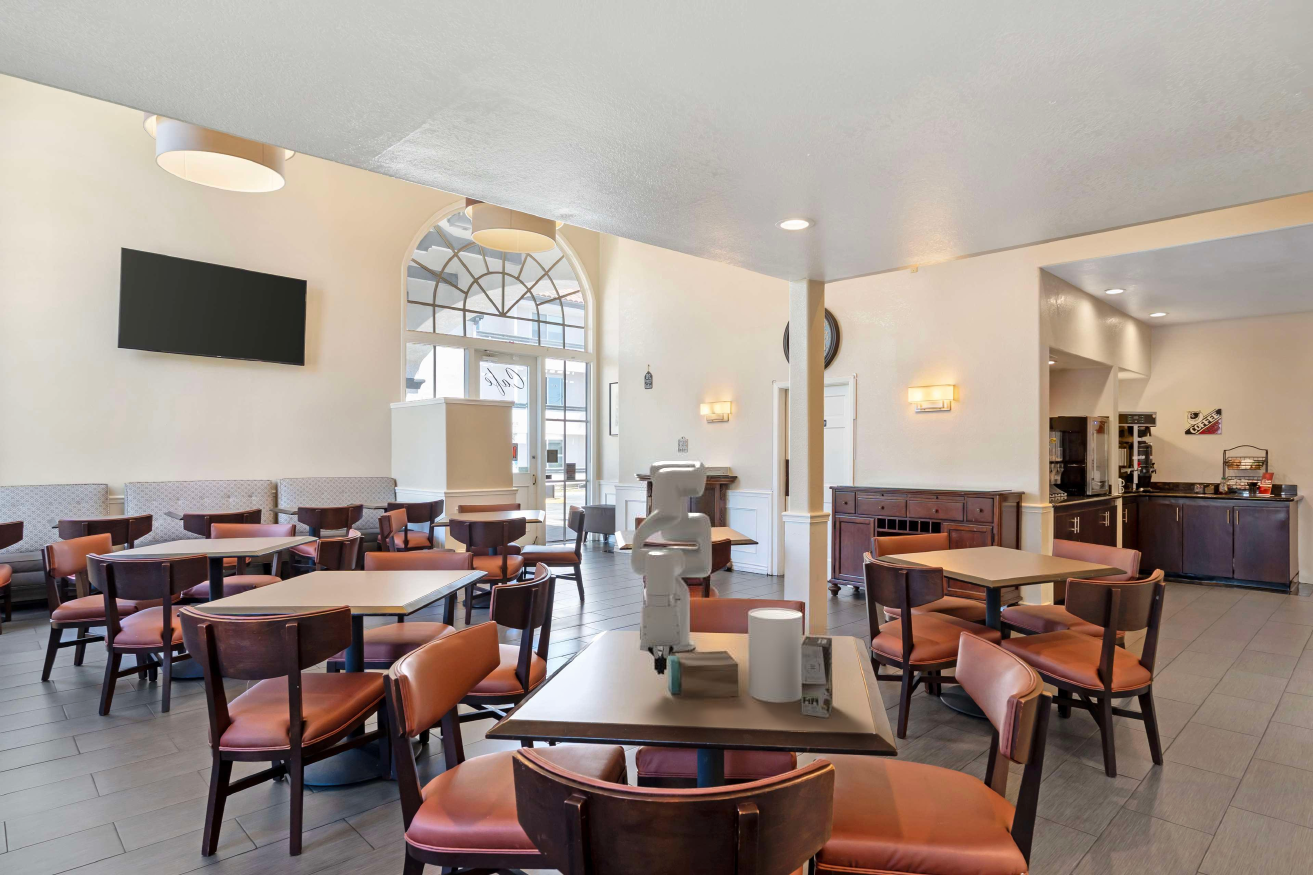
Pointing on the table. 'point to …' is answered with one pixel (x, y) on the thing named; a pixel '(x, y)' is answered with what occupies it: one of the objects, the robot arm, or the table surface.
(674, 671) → the peg
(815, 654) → the coffee box
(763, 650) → the canister
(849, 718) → the table surface
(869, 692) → the table surface
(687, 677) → the block
